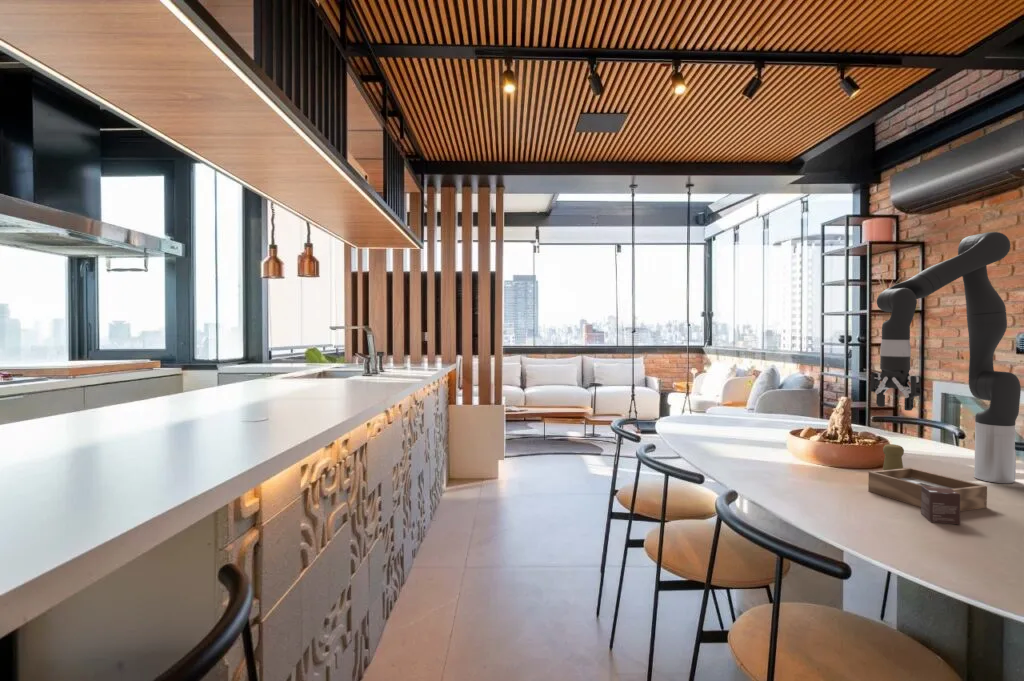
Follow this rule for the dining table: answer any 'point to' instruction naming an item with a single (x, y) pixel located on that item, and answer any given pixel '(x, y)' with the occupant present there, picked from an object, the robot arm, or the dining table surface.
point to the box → (940, 504)
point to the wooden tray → (910, 483)
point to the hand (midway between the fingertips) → (894, 408)
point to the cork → (893, 457)
